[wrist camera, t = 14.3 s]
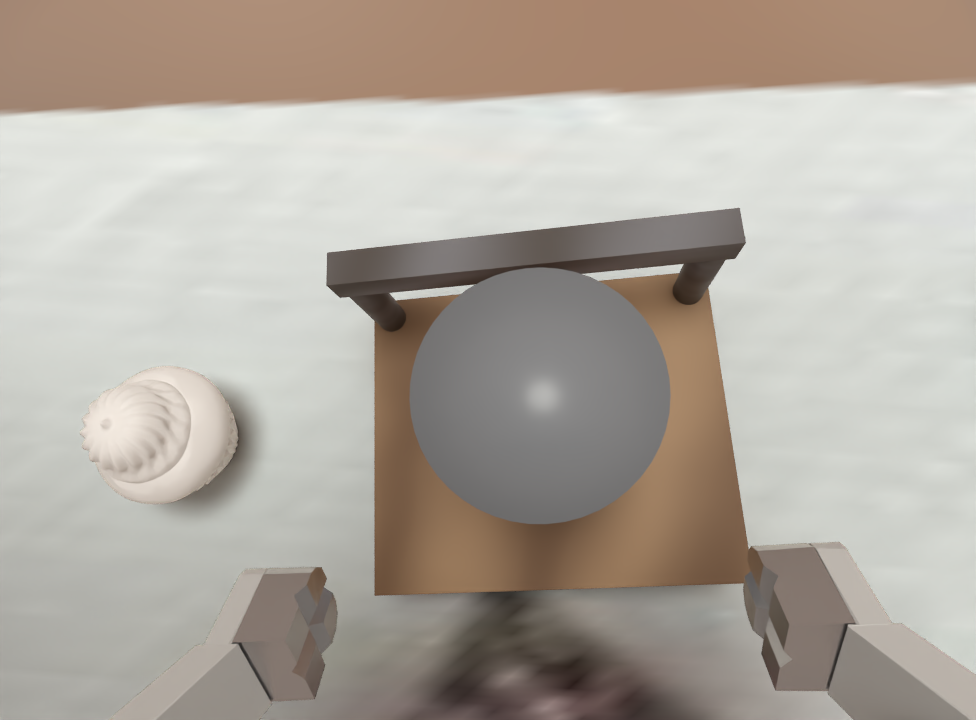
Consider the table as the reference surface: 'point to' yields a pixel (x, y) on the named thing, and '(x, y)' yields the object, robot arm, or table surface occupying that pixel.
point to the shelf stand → (633, 516)
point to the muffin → (160, 434)
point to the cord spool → (540, 395)
